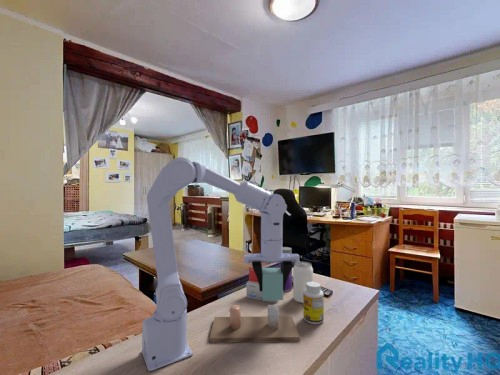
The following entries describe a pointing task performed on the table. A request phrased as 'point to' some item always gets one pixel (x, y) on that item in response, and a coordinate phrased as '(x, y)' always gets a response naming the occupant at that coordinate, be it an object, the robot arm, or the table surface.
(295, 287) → the can
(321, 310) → the supplement bottle
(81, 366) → the table surface
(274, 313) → the post
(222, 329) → the board
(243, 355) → the table surface
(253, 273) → the ink cartridge box
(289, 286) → the container
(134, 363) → the table surface
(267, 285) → the teal rectangular block
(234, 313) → the round post
